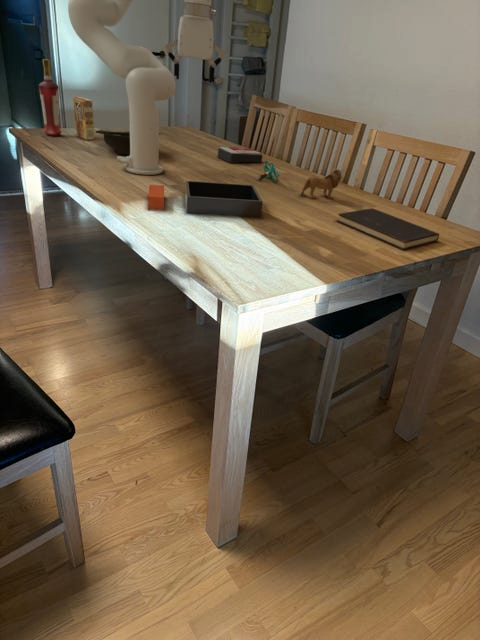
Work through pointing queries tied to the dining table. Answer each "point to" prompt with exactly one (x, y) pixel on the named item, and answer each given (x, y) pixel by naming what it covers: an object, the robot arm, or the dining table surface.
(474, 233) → the dining table surface
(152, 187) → the orange rectangular block
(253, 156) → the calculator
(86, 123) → the candy box
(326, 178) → the lion figurine
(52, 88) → the liquor
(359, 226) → the hardcover book
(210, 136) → the dining table surface
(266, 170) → the stick construction toy
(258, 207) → the tray
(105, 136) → the stone bowl
